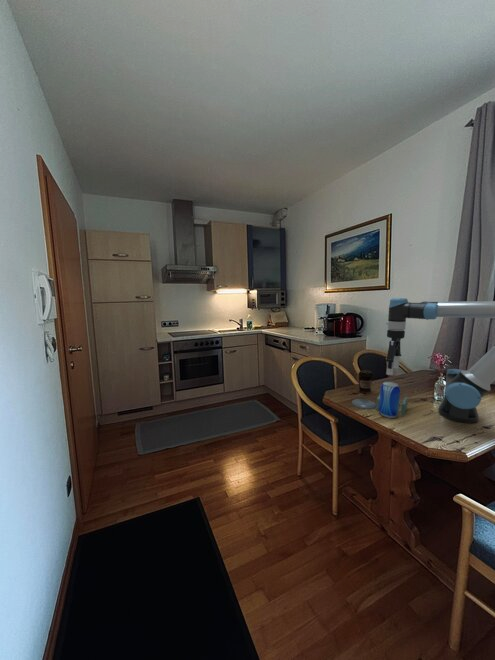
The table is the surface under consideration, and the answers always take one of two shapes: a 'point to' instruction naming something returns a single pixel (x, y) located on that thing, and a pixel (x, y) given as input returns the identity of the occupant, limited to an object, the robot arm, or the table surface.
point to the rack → (404, 405)
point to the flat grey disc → (364, 404)
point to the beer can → (389, 399)
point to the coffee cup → (365, 381)
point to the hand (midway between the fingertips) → (392, 371)
